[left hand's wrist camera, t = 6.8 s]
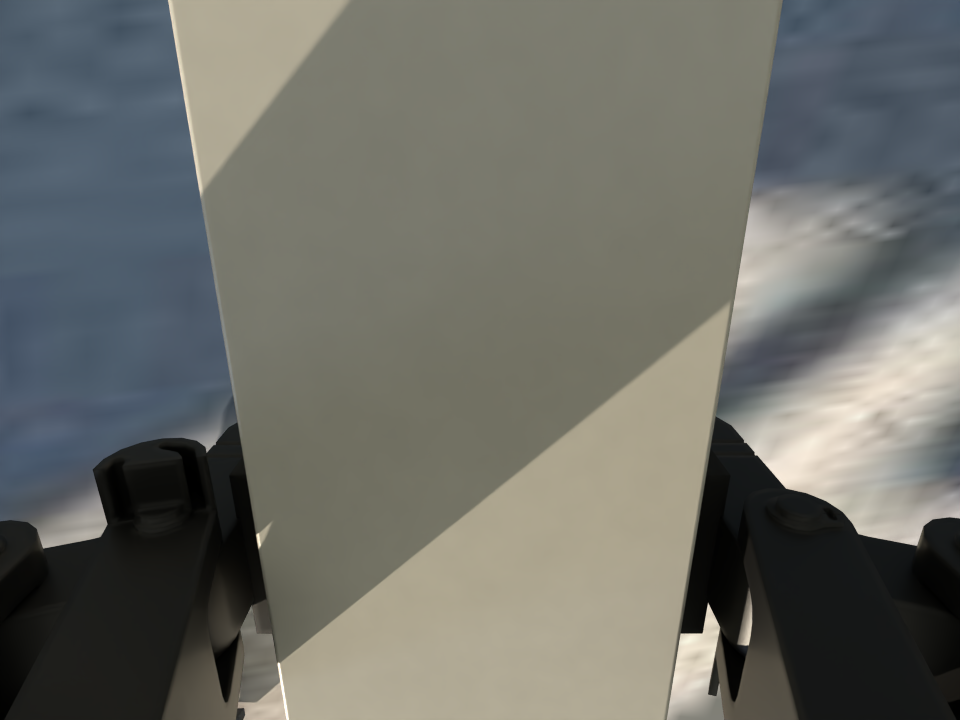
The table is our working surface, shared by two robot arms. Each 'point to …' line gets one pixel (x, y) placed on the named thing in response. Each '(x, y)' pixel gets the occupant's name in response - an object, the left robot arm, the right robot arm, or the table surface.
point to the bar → (476, 331)
